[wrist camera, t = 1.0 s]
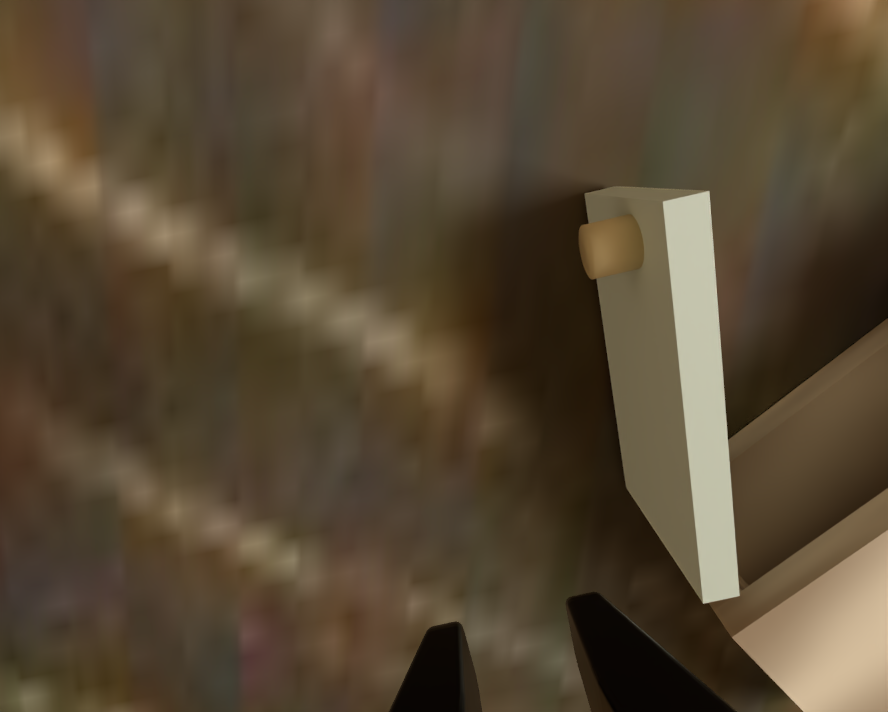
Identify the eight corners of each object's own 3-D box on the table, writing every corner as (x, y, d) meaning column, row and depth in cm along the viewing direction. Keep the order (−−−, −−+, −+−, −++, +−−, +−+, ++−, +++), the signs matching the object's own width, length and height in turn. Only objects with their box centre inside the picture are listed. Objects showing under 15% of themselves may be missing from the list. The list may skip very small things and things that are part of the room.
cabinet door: (615, 186, 18) (708, 190, 12) (652, 481, 21) (739, 595, 15) (546, 202, 18) (607, 214, 12) (594, 494, 21) (659, 613, 15)
